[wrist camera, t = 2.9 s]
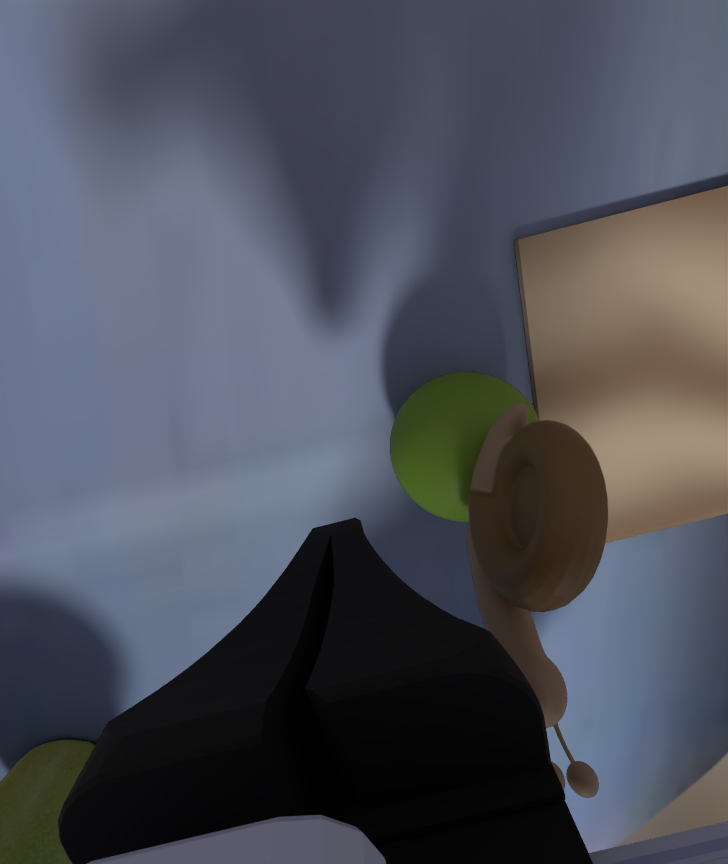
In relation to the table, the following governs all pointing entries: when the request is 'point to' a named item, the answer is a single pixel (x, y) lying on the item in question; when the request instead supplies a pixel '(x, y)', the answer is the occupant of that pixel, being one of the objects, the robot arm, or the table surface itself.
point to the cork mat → (637, 353)
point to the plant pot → (38, 802)
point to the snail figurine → (509, 514)
